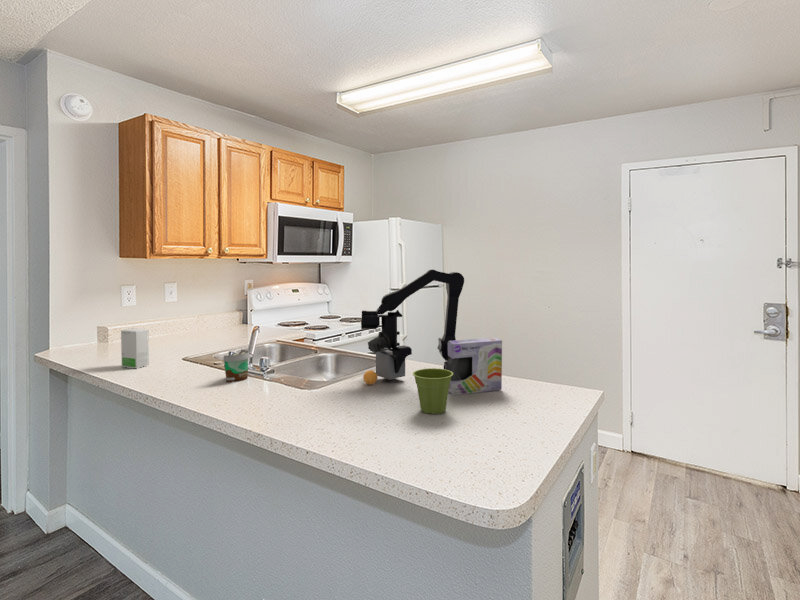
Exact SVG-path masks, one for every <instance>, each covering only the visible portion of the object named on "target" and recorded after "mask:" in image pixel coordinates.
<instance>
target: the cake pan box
mask: <svg viewBox="0 0 800 600" xmlns="http://www.w3.org/2000/svg"><path fill="white" fill-rule="evenodd" d="M502 369H503V340H502V339H500V338H498V337H488V338H487V337H486V338H470V339H469V338H468V339H456V340H454V341H448V365H447V370H449V371H451V372H453V376H451V382H450V384H449V391H448V394H451V395H452V396H456V395H458V396H459V395H468V394H476V393H485V392H493V391H499V390H502V386H503V385H502V384H503V383H502V380H503V379H502V378H503V377H502V375H503V374H502V373H503V370H502Z"/></svg>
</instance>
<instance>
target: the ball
mask: <svg viewBox="0 0 800 600" xmlns="http://www.w3.org/2000/svg"><path fill="white" fill-rule="evenodd" d="M362 377H363V378H362V379H363V382H364V383H365V384H367V385H369V386H370V385H371V386H372V385H374V384H375V383H377V381H378V376H377V374H376V371H374V370H372V369H371V370H370V369H369V370H367V371H365V372H364V373H363V376H362Z"/></svg>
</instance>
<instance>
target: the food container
mask: <svg viewBox="0 0 800 600" xmlns="http://www.w3.org/2000/svg"><path fill="white" fill-rule="evenodd" d="M250 358H251V354H250V351H249V350H247V349H240V351H239V352H237V353H235V352H234V353H232V354H230V355H223V357H222V359H223V360H222V361H223V363H224V371H225V380H226V383H238V382H244V381H245V380H248V377H249V375H248V372H249V359H250Z"/></svg>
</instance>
